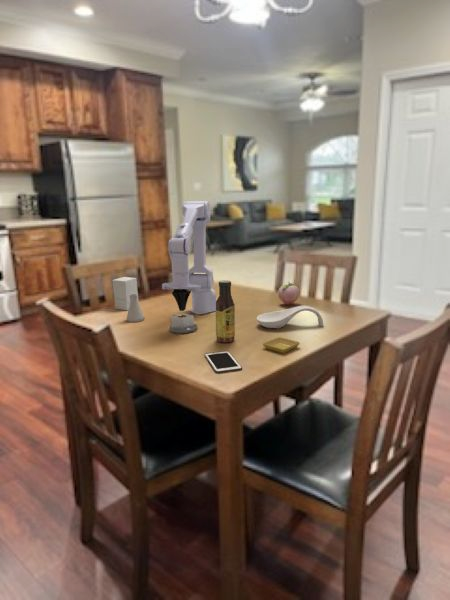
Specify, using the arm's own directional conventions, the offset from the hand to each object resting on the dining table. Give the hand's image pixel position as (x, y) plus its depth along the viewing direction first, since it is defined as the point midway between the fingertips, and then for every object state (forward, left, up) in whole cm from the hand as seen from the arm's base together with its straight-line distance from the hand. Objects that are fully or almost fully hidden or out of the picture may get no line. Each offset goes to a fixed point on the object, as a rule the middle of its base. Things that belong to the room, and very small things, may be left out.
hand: (182, 310), depth 161 cm
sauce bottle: (-5, +19, -7) cm, 21 cm away
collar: (0, 0, -6) cm, 6 cm away
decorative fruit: (-51, 0, -7) cm, 52 cm away
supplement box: (+3, -42, -8) cm, 43 cm away
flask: (+8, -23, -8) cm, 25 cm away
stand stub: (-4, -13, -7) cm, 15 cm away
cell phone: (+7, +34, -8) cm, 36 cm away
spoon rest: (-32, +21, -8) cm, 39 cm away
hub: (0, 0, -7) cm, 7 cm away
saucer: (-14, +36, -8) cm, 39 cm away
